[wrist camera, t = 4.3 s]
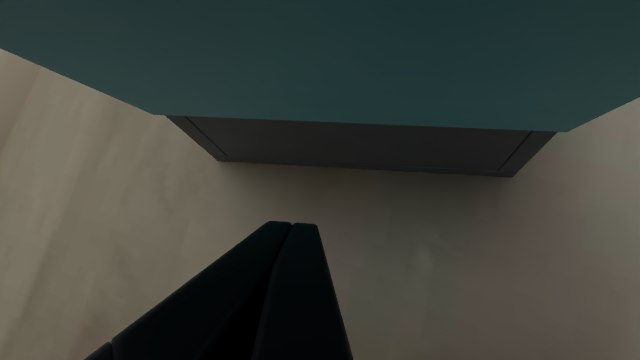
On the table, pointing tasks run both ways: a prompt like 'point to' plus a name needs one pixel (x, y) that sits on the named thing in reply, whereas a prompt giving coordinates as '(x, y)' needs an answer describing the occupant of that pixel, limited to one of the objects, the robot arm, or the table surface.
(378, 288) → the table surface
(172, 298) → the robot arm
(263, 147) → the tray
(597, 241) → the table surface
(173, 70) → the cover
